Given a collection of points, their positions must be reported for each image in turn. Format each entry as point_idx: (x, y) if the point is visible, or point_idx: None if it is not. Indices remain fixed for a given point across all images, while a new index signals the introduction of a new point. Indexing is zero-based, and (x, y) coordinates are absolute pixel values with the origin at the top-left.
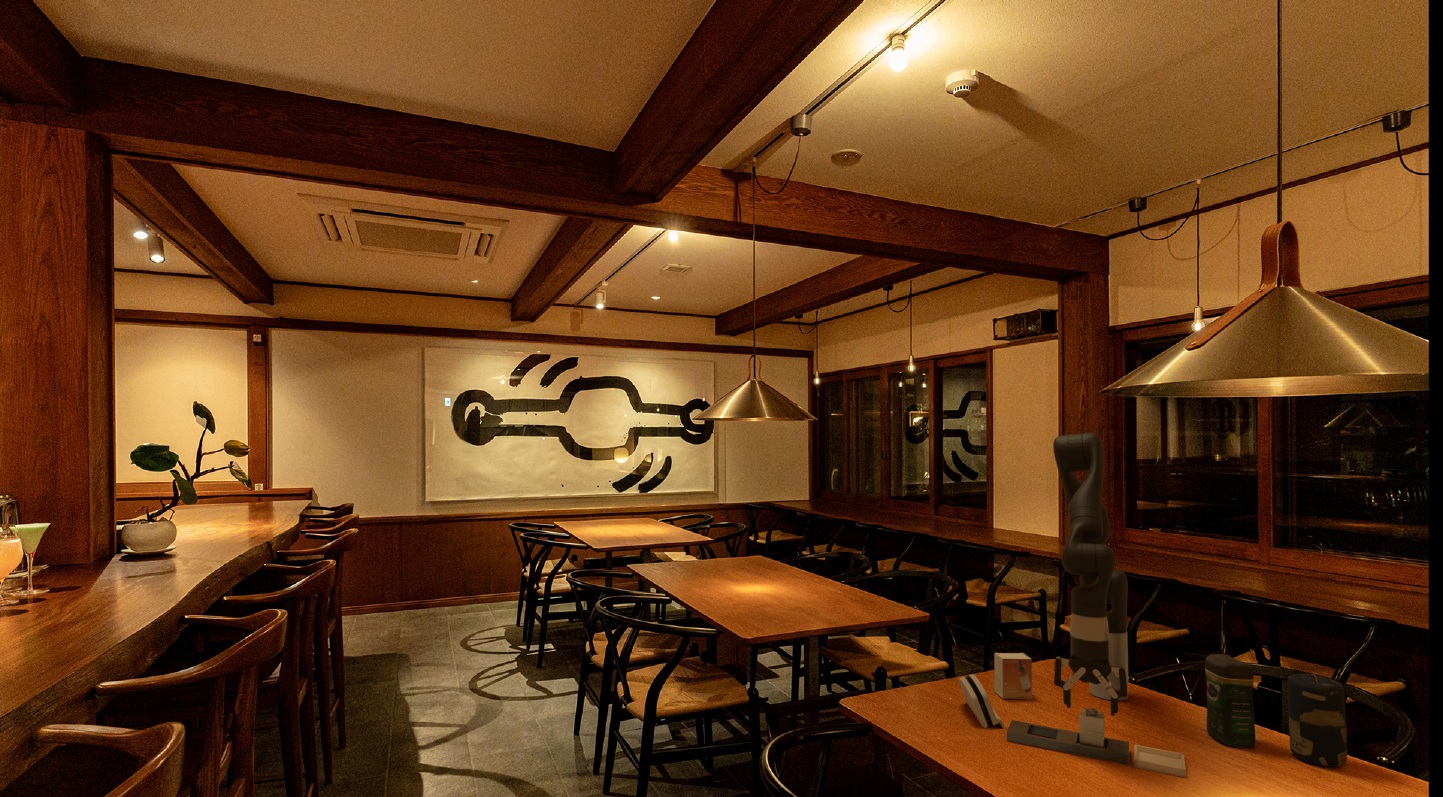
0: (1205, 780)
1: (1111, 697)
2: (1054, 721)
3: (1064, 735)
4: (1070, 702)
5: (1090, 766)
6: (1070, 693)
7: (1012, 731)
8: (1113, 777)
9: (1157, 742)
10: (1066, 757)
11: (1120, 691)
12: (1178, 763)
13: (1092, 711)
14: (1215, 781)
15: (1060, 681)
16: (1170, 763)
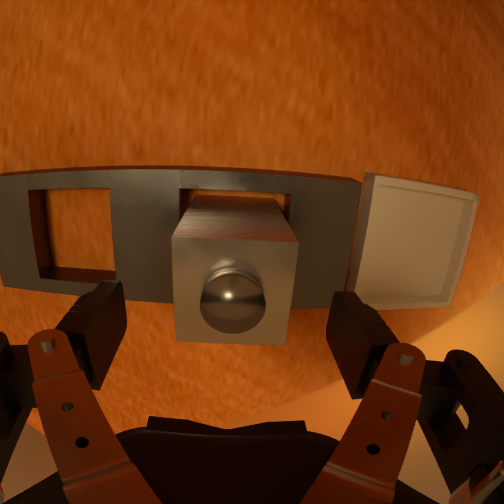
0: (469, 288)
1: (362, 384)
2: (108, 13)
3: (135, 232)
4: (117, 330)
5: (227, 345)
6: (99, 355)
7: (11, 278)
8: (280, 376)
9: (430, 64)
10: (162, 317)
11: (426, 419)
12: (453, 231)
13: (237, 330)
14: (482, 282)
15: (22, 406)
16: (436, 240)
